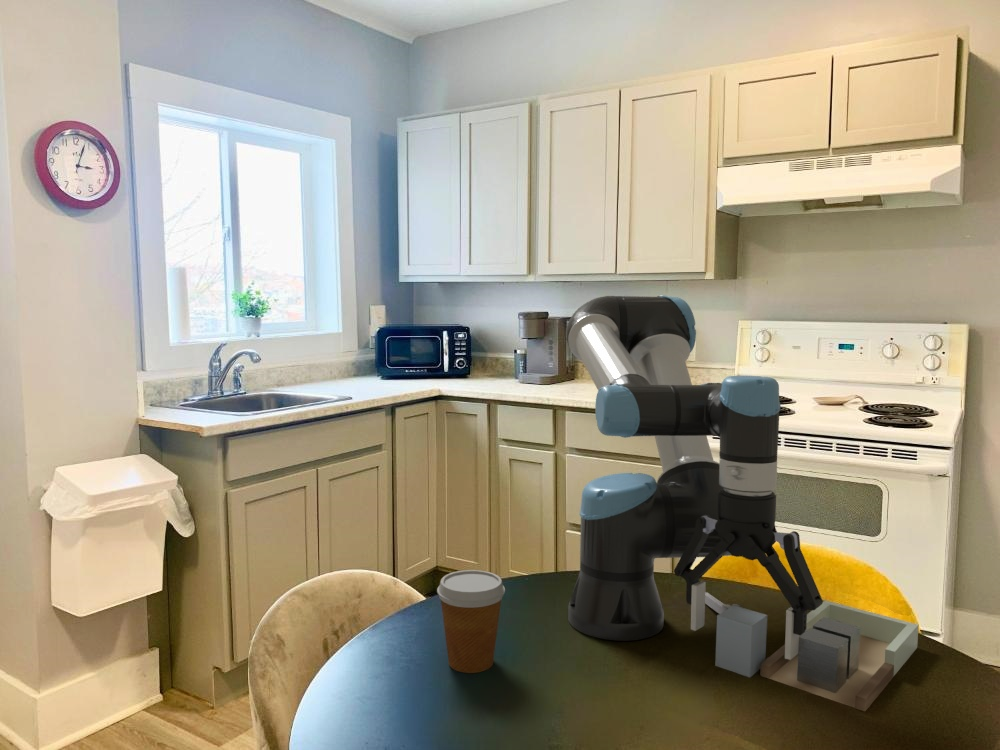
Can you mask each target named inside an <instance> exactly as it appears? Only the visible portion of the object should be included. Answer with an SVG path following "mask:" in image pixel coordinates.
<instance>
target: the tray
mask: <svg viewBox="0 0 1000 750" xmlns="http://www.w3.org/2000/svg"><path fill="white" fill-rule="evenodd" d="M822 601H823V603H822V605H820V606H819V607H818V608H816V609H815V610H813V611H811V610H810V612H807V621H806V622H807V624H806V631H807V630H808V629H809V628H812V629H813V625H814V624H815V623H817V622H818V621H819V620H820V619H821V618H823V617H825V618H829V619H833V620H836V621H840V622H844V623H847V624H851V625H855V626H858V627H860V635H862V636H866V637H869V638H873V639H877V640H880V641H884V642H887V643H890V644H889V645H888V647H887V648H886V649H885V663H888V664H892V665H894V675H895V676H896V675H897V673H898V672H899V671H900V670H901V668H902V667H903V666H904V665H905V663H907V661H908V660H909V659H910V657H911V656H912V655H913V654H914V652H916V650H917V649H918V641H919V624H917V623H913V622H909V621H906V620H902V619H899V618H895V617H891V616H887V615H883V614H880V613H876V612H872V611H869V610H868V611H867V610H863V609H860V608H856V607H852V606H847V605H844V604H841V603H837V602H833V601H829V600H825V599H824V600H822ZM806 631H805V632H806ZM805 632H804V633H805ZM800 636H801V635H799V637H800ZM916 648H917V649H916ZM912 653H913V654H912ZM908 658H909V659H908ZM907 659H908V660H907ZM903 664H904V665H903ZM899 669H900V670H899ZM898 670H899V671H898ZM895 676H893V678H894V677H895Z"/></svg>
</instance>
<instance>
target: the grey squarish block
mask: <svg viewBox="0 0 1000 750" xmlns="http://www.w3.org/2000/svg"><path fill="white" fill-rule="evenodd" d="M847 655H848V639H847V638H844V637H840V636H837V635H833V634H830V633H826V632H823V631H819V630H816V629H812V628H809V629H808V630H807V631H806V632H805V633H803V634H802V635H801V636H800V637H799V647H798V669H797V681H800V682H803V683H806V684H809V685H812V686H815V687H818V688H821V689H824V690H827V691H830V692H833V693H836V692H837V691H838V690H839V689H840V688H841V687H842V686H843V685H844V684H845V683H846V675H847Z"/></svg>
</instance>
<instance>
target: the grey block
mask: <svg viewBox="0 0 1000 750" xmlns="http://www.w3.org/2000/svg"><path fill="white" fill-rule="evenodd" d="M730 606H731V607H730V608H728V609H727V610H725V611H724V612H722V613H720V614H719V613H718V614H717V615H716V635H715V662H714V663H715V664H714V666H715V667H718V668H721V669H724V670H726V671H730V672H733V673H736V674H738V675H741V676H744V677H747V678H751V677H753V676H754V675H755V674H757V672H759V670H760V669H761V663H762V662H764V661H765V660H766V659H767V658H766V656H767V653H766V651H767V631H768V614H765V613H762V612H758V611H754V610H751V609H747V608H743V607H742V606H741V607H737V606H734V605H733V606H732V605H730Z"/></svg>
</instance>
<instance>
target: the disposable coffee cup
mask: <svg viewBox="0 0 1000 750" xmlns="http://www.w3.org/2000/svg"><path fill="white" fill-rule="evenodd" d="M505 592H506V588H505V586H504V585H503V581H502V578H501V577H500V576H499V575H498V574H495V573H493V572H489V571H485V570H479V569H478V570H477V569H467V570H466V569H465V570H457V571H453V572H450V573H448V574H445V575H444V576H443V577H442V578H441V579H440V582H439V585H438V587H437V588H436V593H437V595H438V598H439V599H440V603H441V605H440V606H441V612H442V618H443V619H442V621H443V628H444V636H445V642H446V651H447V658H448V659H447V661H448V665H449V667H450V668H451V669H453V671H457V672H460V673H464V674H465V673H466V674H475V673H477V674H478V673H482V672H484V671H487V670H490V668H491V667H492V666H493V664H494V656H495V651H496V649H495V648H496V643H497V642H496V641H497V636H498V635H497V633H498V628H499V620H500V612H501V605H502V604H501V603H502V598H503V597H504V594H505Z"/></svg>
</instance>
